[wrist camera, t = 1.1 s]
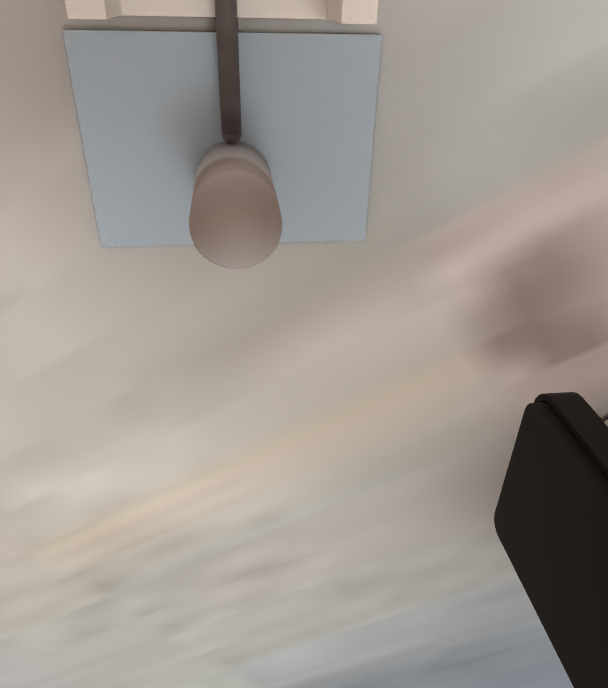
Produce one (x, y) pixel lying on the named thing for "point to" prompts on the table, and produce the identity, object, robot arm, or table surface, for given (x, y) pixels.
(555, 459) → the robot arm
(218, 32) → the rod with block end
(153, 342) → the table surface
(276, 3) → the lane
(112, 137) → the mat
